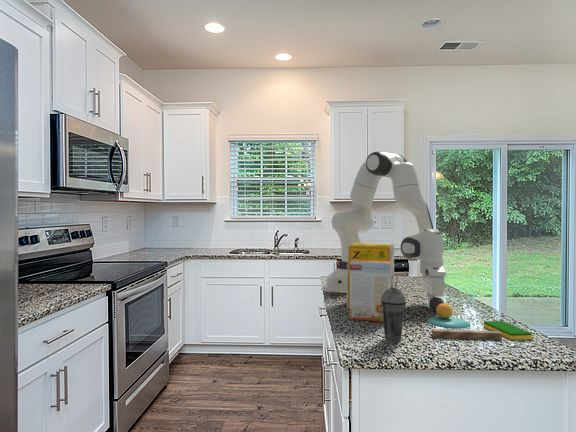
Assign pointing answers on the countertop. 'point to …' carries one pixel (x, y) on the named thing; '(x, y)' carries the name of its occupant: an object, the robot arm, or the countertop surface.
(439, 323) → the teal mark
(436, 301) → the dark gray ball
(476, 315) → the countertop surface
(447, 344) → the countertop surface
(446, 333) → the brown wooden bar
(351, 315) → the cracker box
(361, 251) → the packaging box
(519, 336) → the dish sponge
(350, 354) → the countertop surface
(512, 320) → the countertop surface
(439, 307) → the orange ball
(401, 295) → the beverage cup
